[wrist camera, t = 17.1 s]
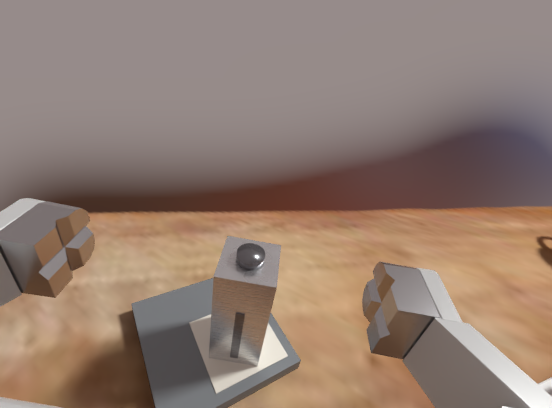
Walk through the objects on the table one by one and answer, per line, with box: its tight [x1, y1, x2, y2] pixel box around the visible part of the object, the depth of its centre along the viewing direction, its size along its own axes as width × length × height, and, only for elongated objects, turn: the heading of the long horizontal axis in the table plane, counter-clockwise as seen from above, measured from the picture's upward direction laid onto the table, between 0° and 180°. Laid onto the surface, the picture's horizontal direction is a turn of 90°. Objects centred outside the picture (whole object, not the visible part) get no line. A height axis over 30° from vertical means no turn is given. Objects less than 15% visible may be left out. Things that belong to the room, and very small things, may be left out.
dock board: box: [132, 278, 301, 408], centre depth 32 cm, size 14×14×2 cm
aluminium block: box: [209, 236, 281, 366], centre depth 28 cm, size 5×5×13 cm
